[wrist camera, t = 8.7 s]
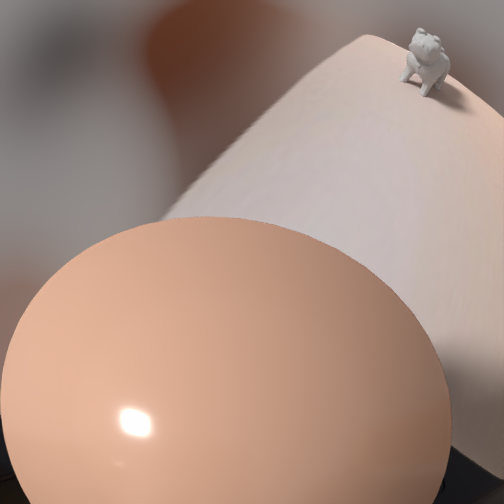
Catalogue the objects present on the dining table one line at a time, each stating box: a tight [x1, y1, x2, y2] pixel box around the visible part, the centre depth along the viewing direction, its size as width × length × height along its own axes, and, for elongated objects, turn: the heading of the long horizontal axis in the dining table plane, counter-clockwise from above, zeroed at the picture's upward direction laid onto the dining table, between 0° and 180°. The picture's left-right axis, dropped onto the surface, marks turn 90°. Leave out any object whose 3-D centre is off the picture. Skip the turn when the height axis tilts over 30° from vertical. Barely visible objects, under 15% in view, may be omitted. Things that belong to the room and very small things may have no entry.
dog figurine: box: [399, 28, 450, 97], centre depth 26 cm, size 5×13×11 cm, turn 128°
